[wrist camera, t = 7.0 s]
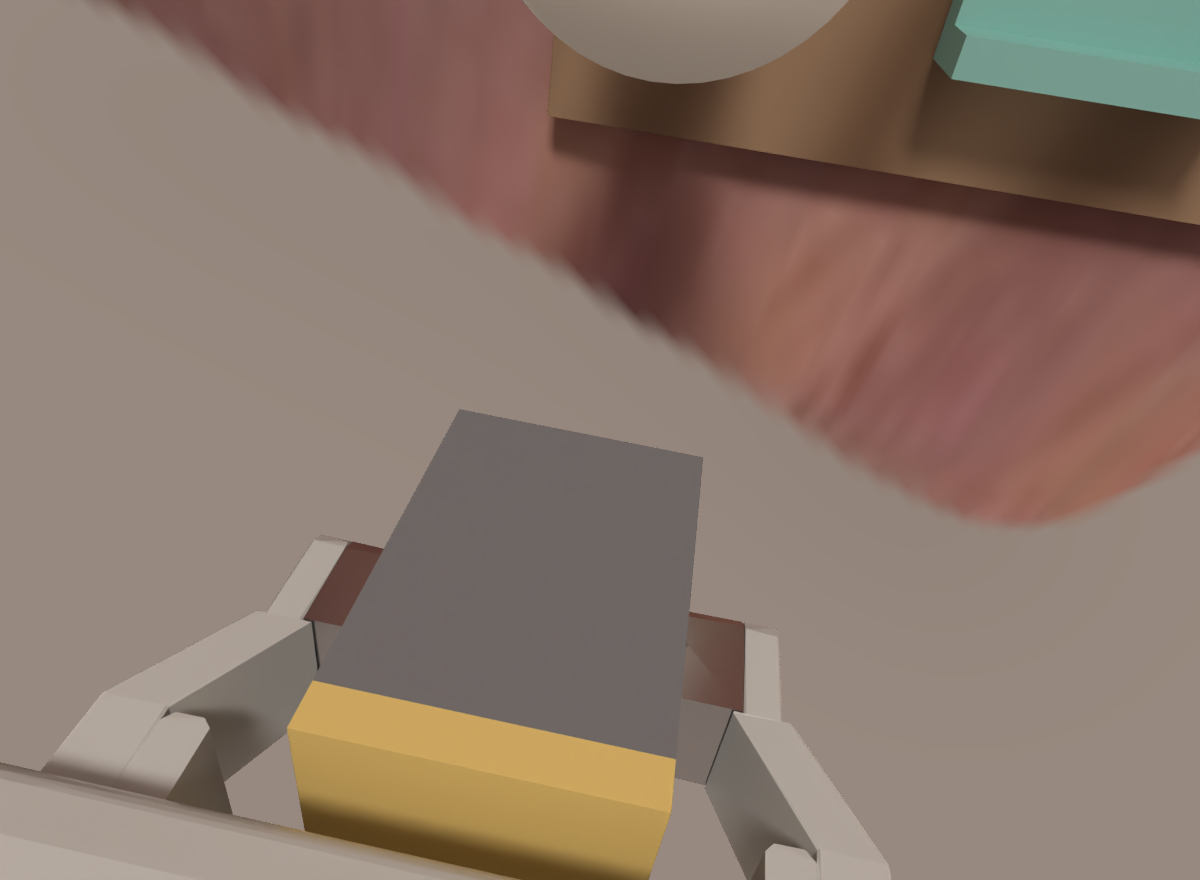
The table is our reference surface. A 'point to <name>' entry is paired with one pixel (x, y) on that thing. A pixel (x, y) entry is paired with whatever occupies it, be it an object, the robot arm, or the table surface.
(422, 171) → the table surface
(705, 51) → the bobbin
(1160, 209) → the board
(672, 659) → the yellow and grey block
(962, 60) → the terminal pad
